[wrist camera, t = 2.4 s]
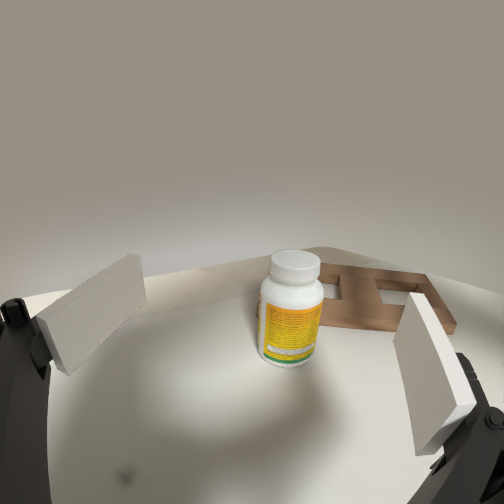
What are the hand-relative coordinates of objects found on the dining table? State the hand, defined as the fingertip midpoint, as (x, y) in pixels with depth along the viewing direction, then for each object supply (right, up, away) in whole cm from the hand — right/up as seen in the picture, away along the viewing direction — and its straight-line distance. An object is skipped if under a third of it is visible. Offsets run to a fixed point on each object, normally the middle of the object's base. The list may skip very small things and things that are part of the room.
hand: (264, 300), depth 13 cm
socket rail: (+13, -4, +22) cm, 26 cm away
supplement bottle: (+3, -7, +13) cm, 15 cm away
